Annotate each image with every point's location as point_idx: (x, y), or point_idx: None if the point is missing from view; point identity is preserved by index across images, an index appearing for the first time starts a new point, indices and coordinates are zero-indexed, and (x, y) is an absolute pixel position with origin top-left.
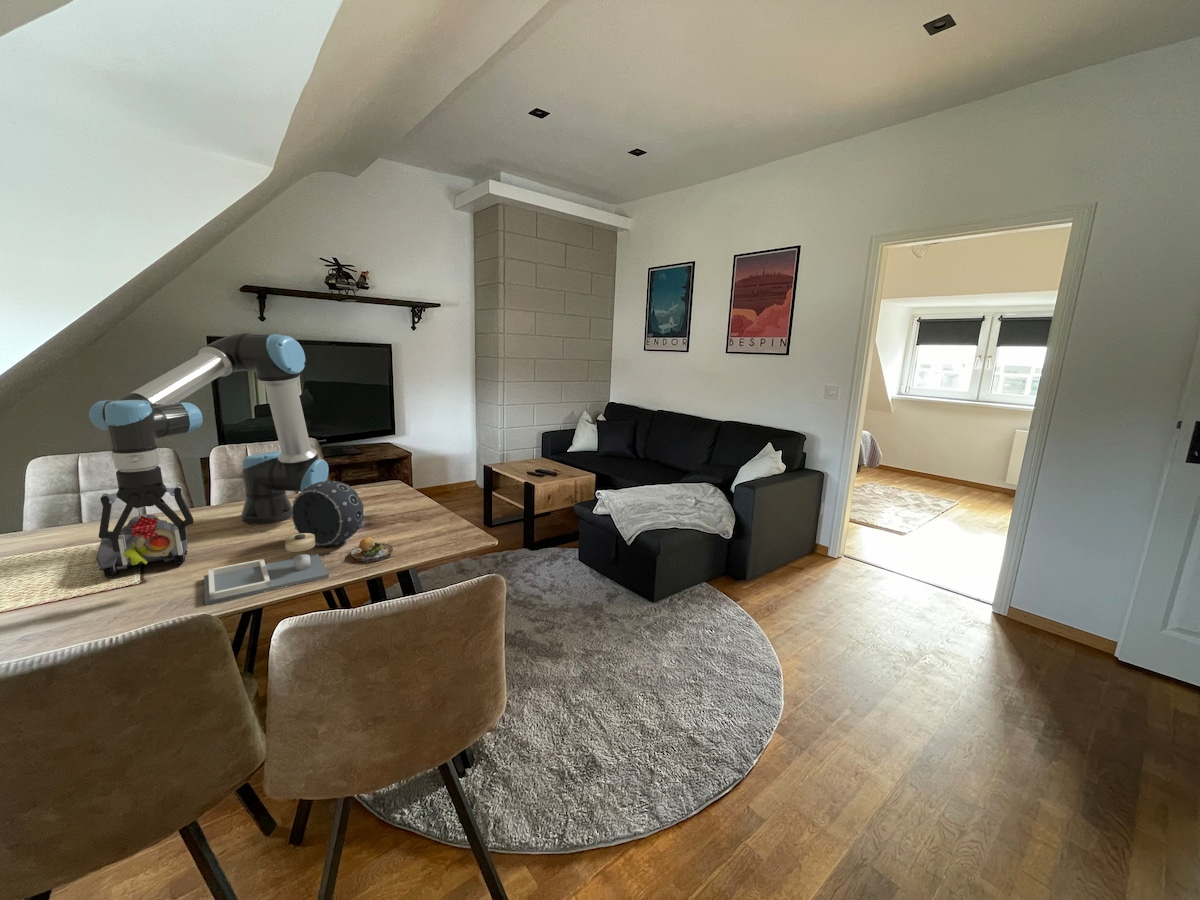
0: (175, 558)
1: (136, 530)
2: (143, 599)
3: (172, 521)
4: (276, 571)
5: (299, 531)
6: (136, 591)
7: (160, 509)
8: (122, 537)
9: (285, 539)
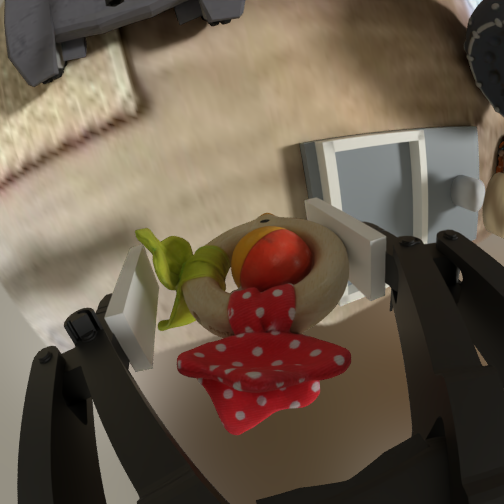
0: (212, 22)
1: (225, 390)
2: (184, 228)
3: (400, 331)
4: (431, 189)
5: (474, 41)
6: (147, 168)
7: (414, 422)
8: (141, 351)
9: (501, 208)
